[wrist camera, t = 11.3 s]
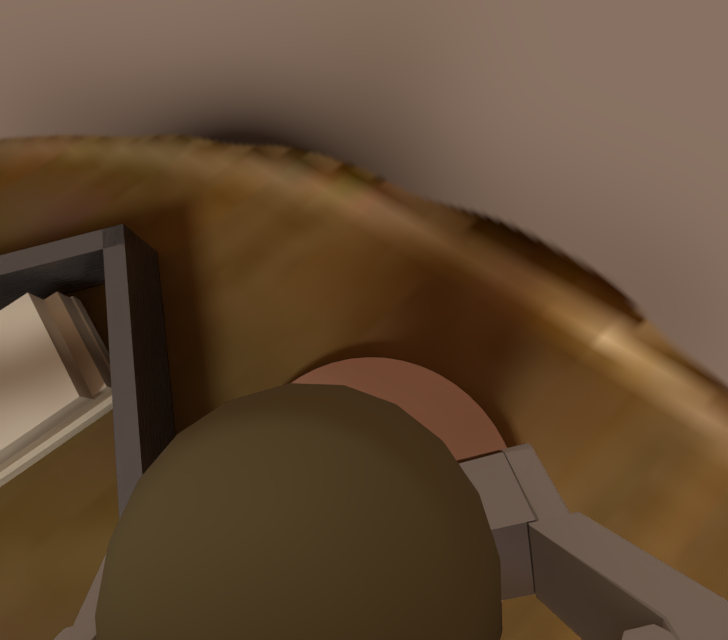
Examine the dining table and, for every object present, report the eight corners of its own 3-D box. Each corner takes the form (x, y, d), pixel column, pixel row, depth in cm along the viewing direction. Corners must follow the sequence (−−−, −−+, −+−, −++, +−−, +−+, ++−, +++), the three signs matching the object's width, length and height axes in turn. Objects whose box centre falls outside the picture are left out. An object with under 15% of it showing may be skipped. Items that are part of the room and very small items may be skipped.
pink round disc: (555, 420, 20) (560, 418, 19) (461, 732, 17) (463, 744, 17) (300, 324, 23) (296, 319, 22) (182, 585, 20) (172, 590, 19)
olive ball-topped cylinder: (375, 378, 17) (303, 232, 6) (506, 518, 15) (717, 652, 4) (242, 501, 16) (-99, 577, 5) (363, 663, 14) (210, 1235, 4)
